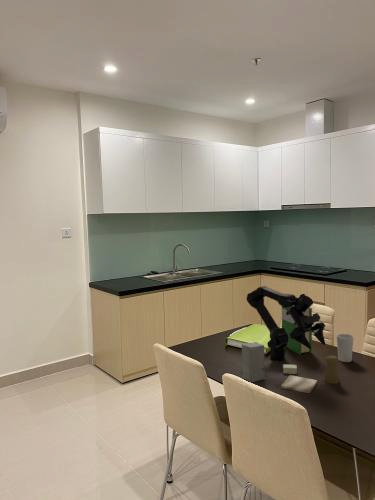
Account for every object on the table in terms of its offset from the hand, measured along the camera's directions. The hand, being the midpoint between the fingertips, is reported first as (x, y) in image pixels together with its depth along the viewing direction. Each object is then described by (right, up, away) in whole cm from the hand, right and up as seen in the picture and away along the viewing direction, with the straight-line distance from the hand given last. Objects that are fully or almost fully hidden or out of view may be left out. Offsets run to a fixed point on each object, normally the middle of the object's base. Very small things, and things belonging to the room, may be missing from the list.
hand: (317, 346), depth 180 cm
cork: (+4, -14, -5) cm, 16 cm away
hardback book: (+1, -10, +37) cm, 38 cm away
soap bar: (-11, -14, +6) cm, 18 cm away
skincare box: (-29, -15, -1) cm, 33 cm away
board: (-11, -15, -9) cm, 20 cm away
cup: (+20, -11, +19) cm, 30 cm away
